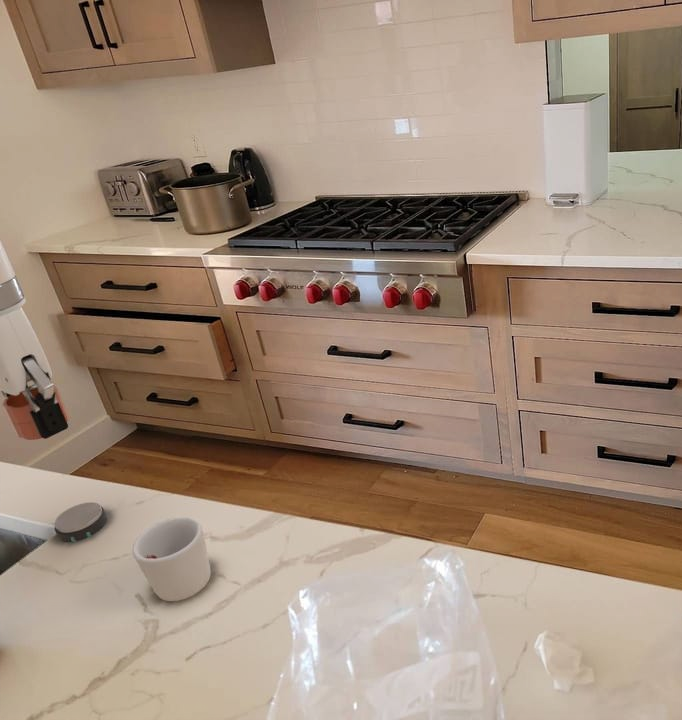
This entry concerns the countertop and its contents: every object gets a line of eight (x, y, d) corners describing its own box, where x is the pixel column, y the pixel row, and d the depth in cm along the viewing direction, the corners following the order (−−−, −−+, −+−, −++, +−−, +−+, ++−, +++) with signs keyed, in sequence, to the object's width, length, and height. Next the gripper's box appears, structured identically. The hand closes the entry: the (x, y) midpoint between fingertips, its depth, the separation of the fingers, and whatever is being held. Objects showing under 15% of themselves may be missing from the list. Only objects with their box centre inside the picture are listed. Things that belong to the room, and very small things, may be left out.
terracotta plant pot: (15, 447, 85) (-1, 412, 83) (21, 425, 90) (6, 392, 88) (68, 432, 87) (53, 399, 85) (71, 412, 92) (58, 380, 90)
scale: (58, 552, 94) (50, 536, 93) (61, 526, 99) (54, 511, 98) (108, 536, 96) (101, 520, 95) (109, 511, 102) (103, 496, 100)
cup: (152, 563, 90) (133, 516, 87) (214, 543, 93) (198, 496, 89) (151, 620, 81) (130, 570, 78) (220, 596, 84) (203, 546, 80)
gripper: (-78, 299, 83) (-17, 424, 91) (-19, 321, 73) (44, 459, 81) (-12, 279, 88) (41, 399, 96) (52, 297, 79) (104, 428, 87)
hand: (42, 425), depth 89 cm, fingers closed on terracotta plant pot, 6 cm apart
